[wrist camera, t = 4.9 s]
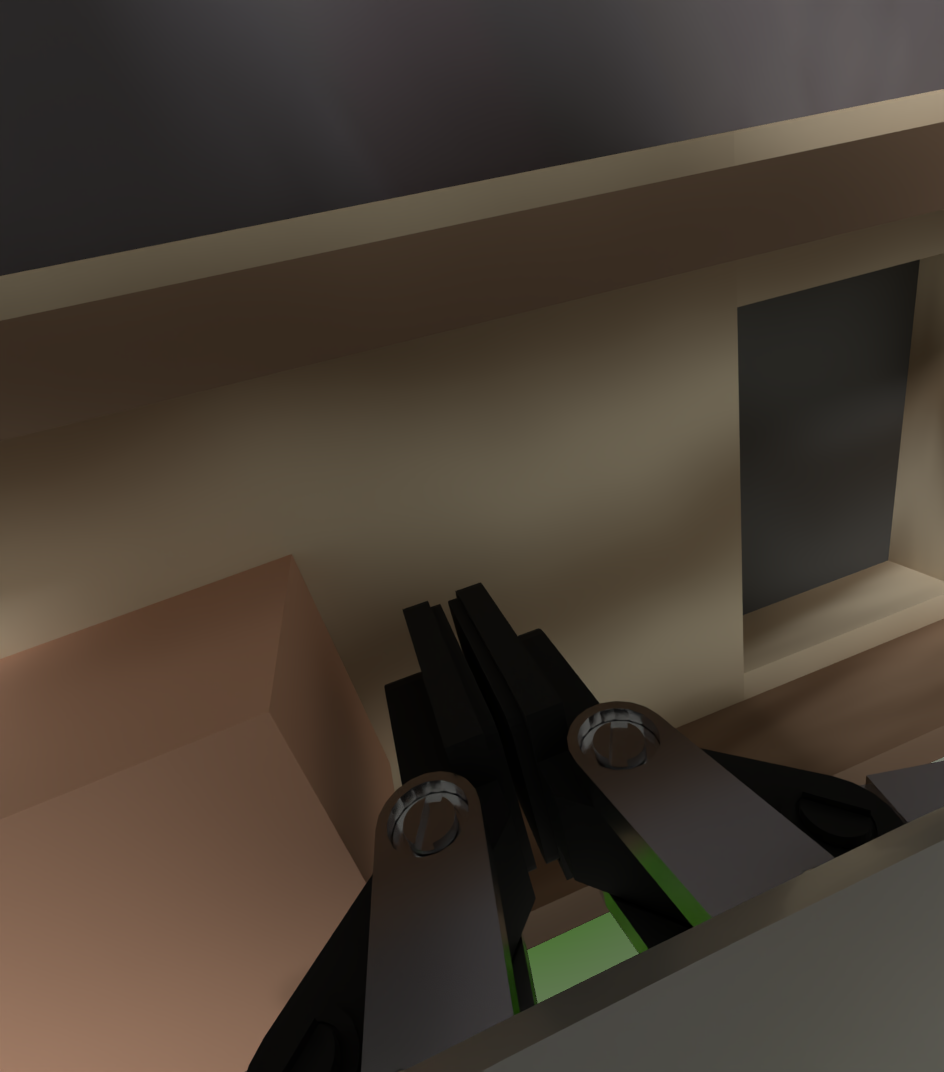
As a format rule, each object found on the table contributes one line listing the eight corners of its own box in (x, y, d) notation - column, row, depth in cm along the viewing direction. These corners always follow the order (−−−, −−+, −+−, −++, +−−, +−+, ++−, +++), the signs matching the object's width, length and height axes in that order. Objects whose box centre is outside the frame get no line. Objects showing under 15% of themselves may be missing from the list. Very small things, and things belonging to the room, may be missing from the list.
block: (-25, 668, 10) (-333, 952, 5) (291, 553, 10) (269, 711, 6) (143, 869, 12) (35, 1186, 7) (390, 763, 13) (427, 990, 8)
